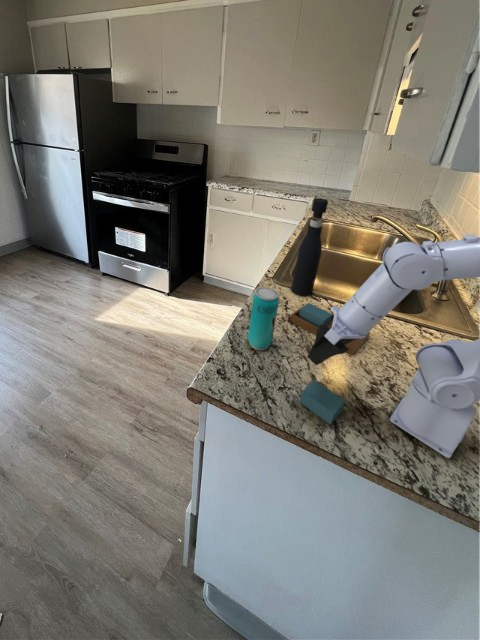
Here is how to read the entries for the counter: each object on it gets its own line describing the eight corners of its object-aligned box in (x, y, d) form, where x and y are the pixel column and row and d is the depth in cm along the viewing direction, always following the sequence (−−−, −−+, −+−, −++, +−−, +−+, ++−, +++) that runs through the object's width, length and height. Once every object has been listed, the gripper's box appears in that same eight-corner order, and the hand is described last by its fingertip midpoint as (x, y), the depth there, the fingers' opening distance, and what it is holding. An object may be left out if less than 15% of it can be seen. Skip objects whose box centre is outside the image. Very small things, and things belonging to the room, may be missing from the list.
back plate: (367, 338, 80) (370, 332, 80) (351, 355, 75) (354, 348, 74) (307, 308, 92) (308, 302, 91) (289, 320, 86) (290, 314, 86)
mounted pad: (330, 323, 85) (332, 314, 84) (321, 330, 82) (324, 320, 81) (306, 311, 90) (308, 302, 88) (298, 317, 87) (300, 308, 86)
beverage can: (271, 354, 74) (280, 301, 68) (246, 350, 75) (253, 297, 69) (270, 338, 79) (279, 287, 73) (247, 335, 80) (254, 284, 74)
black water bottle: (289, 285, 104) (306, 196, 91) (309, 287, 103) (329, 197, 90) (292, 295, 98) (311, 202, 85) (313, 297, 98) (335, 203, 85)
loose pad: (341, 411, 61) (345, 400, 59) (330, 424, 58) (334, 413, 57) (311, 390, 65) (314, 379, 64) (299, 401, 62) (302, 391, 61)
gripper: (363, 282, 60) (321, 328, 67) (332, 296, 50) (286, 348, 57) (397, 308, 56) (348, 354, 63) (371, 329, 46) (317, 381, 53)
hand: (321, 353), depth 60 cm, fingers open, 7 cm apart
